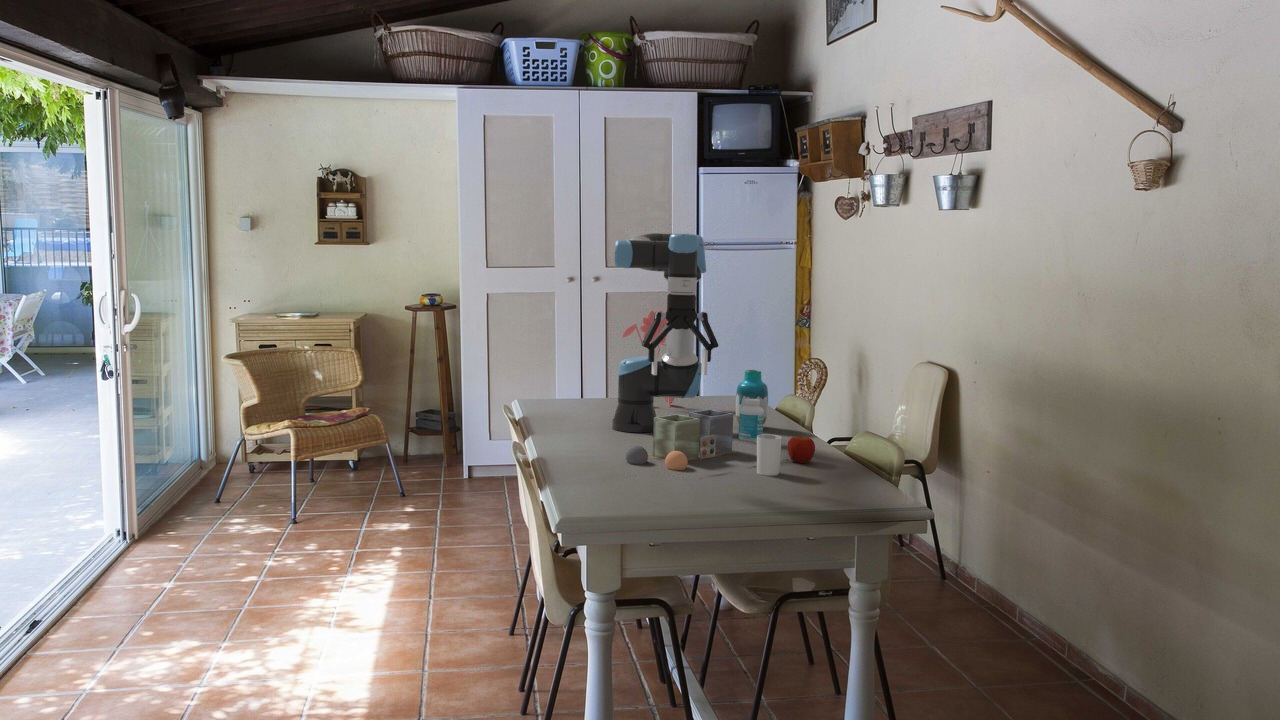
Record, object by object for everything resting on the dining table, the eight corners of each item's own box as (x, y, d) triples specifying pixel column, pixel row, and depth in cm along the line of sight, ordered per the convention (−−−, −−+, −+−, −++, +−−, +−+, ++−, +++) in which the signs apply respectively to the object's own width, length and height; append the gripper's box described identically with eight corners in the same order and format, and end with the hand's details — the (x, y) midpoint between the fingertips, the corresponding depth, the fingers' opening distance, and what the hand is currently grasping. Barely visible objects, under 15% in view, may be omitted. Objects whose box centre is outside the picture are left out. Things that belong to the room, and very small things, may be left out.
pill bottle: (761, 446, 309) (763, 402, 307) (737, 444, 311) (738, 400, 309) (763, 441, 316) (765, 398, 315) (739, 439, 318) (741, 397, 316)
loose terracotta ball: (659, 472, 271) (660, 450, 271) (675, 469, 275) (676, 447, 275) (676, 476, 267) (676, 454, 266) (691, 473, 271) (692, 451, 270)
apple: (797, 466, 283) (798, 438, 282) (780, 460, 290) (782, 433, 289) (819, 464, 287) (821, 436, 286) (802, 458, 294) (804, 431, 293)
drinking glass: (773, 477, 270) (775, 440, 268) (751, 473, 273) (752, 436, 272) (784, 472, 275) (785, 436, 274) (761, 469, 279) (763, 433, 277)
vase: (771, 427, 341) (773, 370, 338) (761, 432, 331) (763, 373, 329) (740, 423, 345) (743, 367, 343) (730, 428, 335) (732, 371, 333)
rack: (645, 461, 284) (646, 417, 282) (708, 449, 302) (709, 408, 300) (675, 469, 275) (677, 423, 274) (739, 456, 293) (740, 414, 292)
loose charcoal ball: (620, 467, 276) (621, 445, 276) (637, 464, 281) (637, 442, 280) (636, 471, 272) (636, 449, 271) (652, 468, 276) (652, 446, 275)
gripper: (638, 293, 259) (636, 376, 261) (732, 295, 265) (728, 376, 267) (631, 292, 266) (629, 372, 269) (723, 293, 272) (720, 372, 274)
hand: (679, 374), depth 268 cm, fingers open, 13 cm apart
